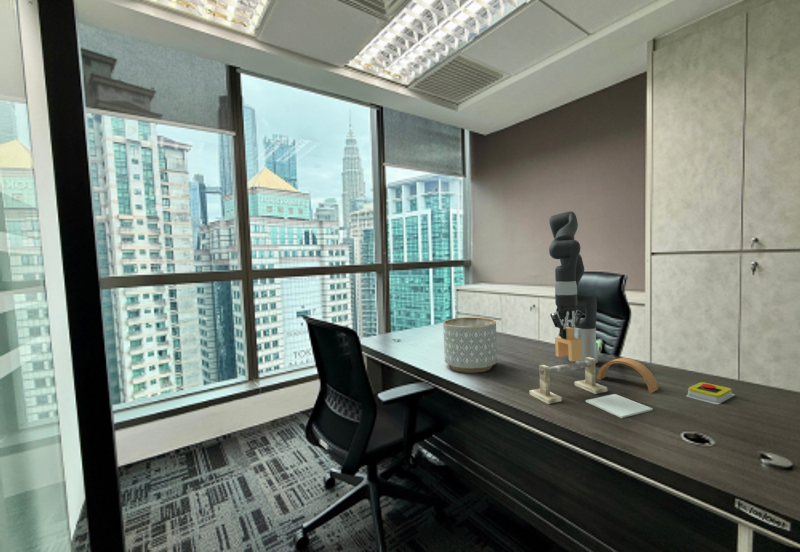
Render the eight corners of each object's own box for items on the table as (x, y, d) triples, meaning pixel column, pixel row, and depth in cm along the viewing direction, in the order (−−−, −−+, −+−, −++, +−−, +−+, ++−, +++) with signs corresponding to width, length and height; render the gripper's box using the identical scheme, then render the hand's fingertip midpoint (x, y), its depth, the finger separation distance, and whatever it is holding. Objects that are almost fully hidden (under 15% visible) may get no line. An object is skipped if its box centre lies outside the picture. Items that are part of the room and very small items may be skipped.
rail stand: (586, 383, 143) (585, 354, 143) (607, 391, 134) (606, 360, 133) (529, 394, 135) (528, 363, 134) (548, 404, 125) (547, 371, 124)
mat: (614, 395, 130) (614, 393, 130) (652, 410, 116) (652, 408, 116) (585, 401, 125) (585, 400, 125) (621, 418, 112) (621, 416, 112)
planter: (435, 364, 178) (433, 321, 177) (474, 356, 190) (472, 315, 189) (466, 378, 156) (464, 329, 155) (508, 368, 167) (507, 321, 166)
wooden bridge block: (565, 354, 138) (565, 325, 137) (582, 359, 130) (581, 329, 130) (555, 356, 136) (554, 326, 136) (571, 361, 129) (570, 330, 128)
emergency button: (684, 385, 126) (703, 377, 133) (684, 397, 126) (703, 388, 134) (717, 393, 118) (735, 384, 125) (717, 406, 118) (735, 396, 126)
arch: (651, 393, 130) (650, 367, 130) (596, 379, 147) (596, 356, 147) (658, 389, 134) (657, 364, 133) (604, 376, 150) (603, 353, 150)
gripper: (572, 290, 138) (573, 334, 139) (543, 293, 134) (545, 338, 135) (588, 292, 131) (589, 337, 132) (558, 295, 127) (559, 342, 127)
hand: (567, 337), depth 133 cm, fingers closed on wooden bridge block, 3 cm apart
